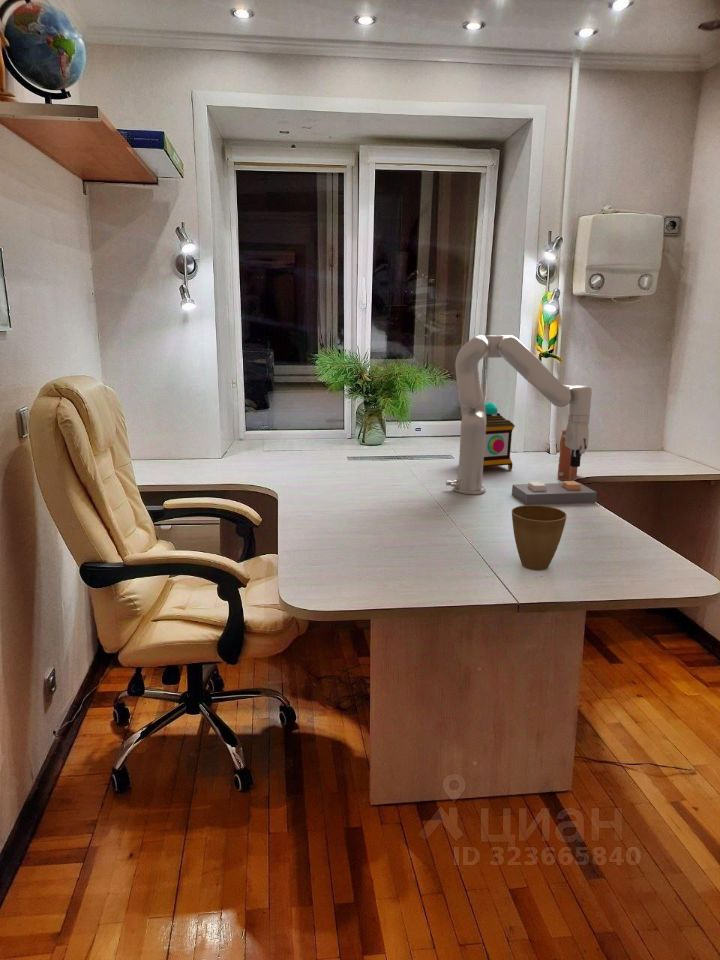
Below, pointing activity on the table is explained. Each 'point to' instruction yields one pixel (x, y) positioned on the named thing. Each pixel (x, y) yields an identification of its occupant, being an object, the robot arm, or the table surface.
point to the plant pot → (537, 534)
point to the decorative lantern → (497, 438)
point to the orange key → (571, 485)
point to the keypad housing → (553, 494)
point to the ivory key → (537, 486)
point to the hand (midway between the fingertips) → (574, 466)
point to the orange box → (565, 461)
